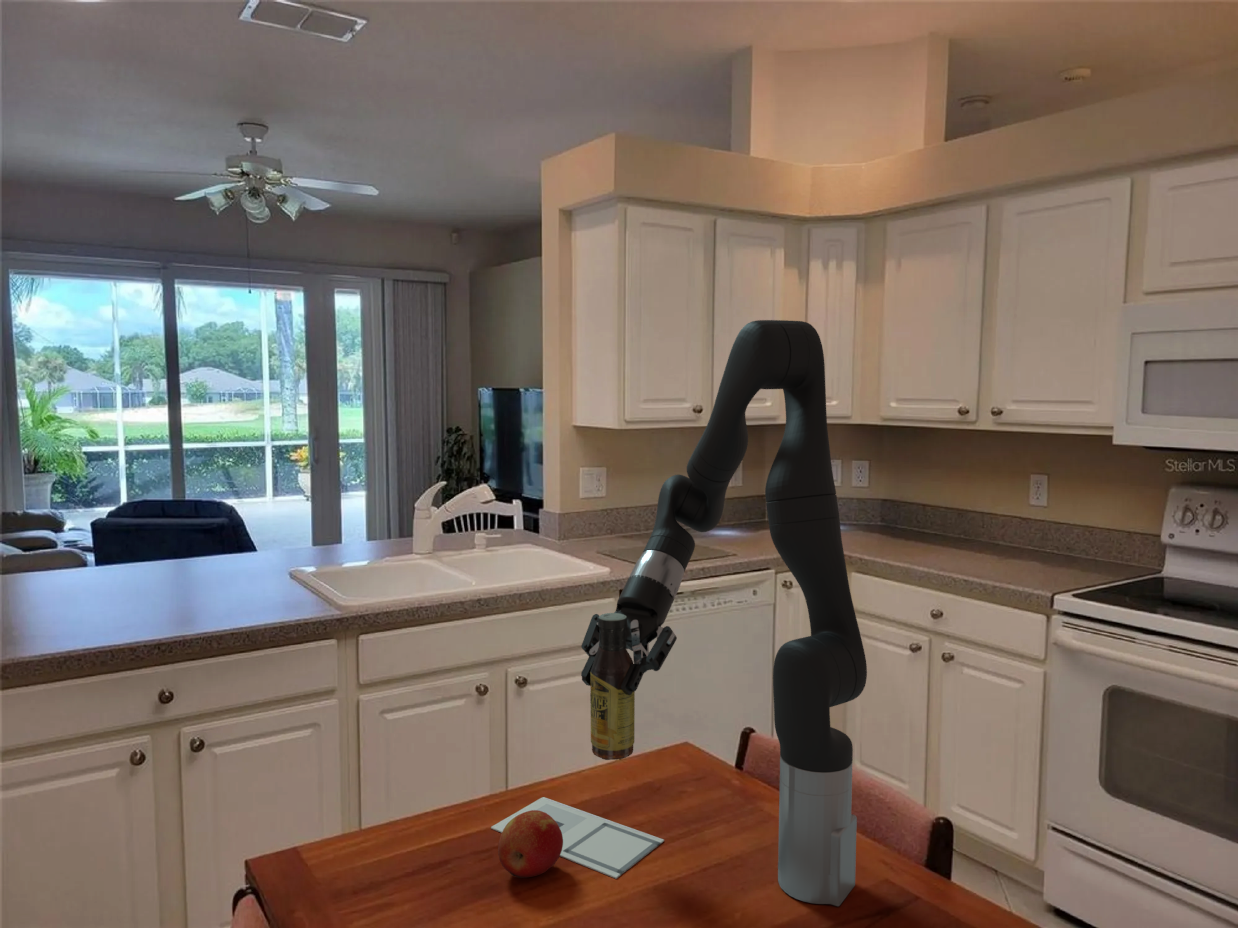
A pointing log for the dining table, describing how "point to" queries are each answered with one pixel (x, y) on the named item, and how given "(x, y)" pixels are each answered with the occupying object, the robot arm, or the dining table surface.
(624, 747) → the sauce bottle
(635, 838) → the mat
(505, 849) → the apple
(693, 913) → the dining table surface
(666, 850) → the dining table surface
